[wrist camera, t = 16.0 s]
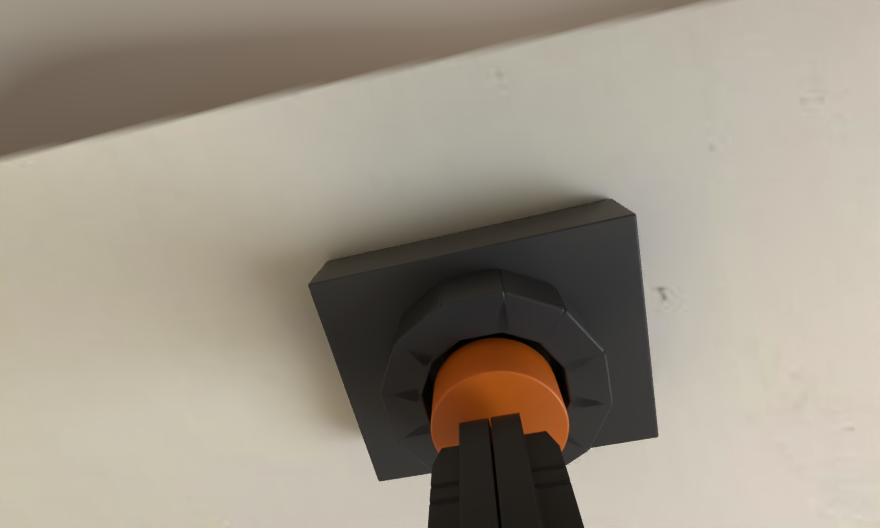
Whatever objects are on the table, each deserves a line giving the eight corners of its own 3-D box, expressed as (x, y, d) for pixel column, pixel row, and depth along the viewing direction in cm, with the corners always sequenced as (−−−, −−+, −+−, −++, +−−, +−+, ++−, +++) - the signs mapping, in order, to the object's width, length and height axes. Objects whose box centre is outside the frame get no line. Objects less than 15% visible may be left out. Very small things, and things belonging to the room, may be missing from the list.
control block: (612, 198, 15) (663, 230, 11) (635, 398, 18) (683, 479, 14) (326, 261, 16) (286, 309, 12) (387, 440, 19) (369, 525, 15)
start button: (545, 325, 13) (558, 359, 11) (564, 429, 14) (578, 473, 12) (420, 349, 13) (415, 385, 11) (449, 448, 14) (447, 493, 13)
